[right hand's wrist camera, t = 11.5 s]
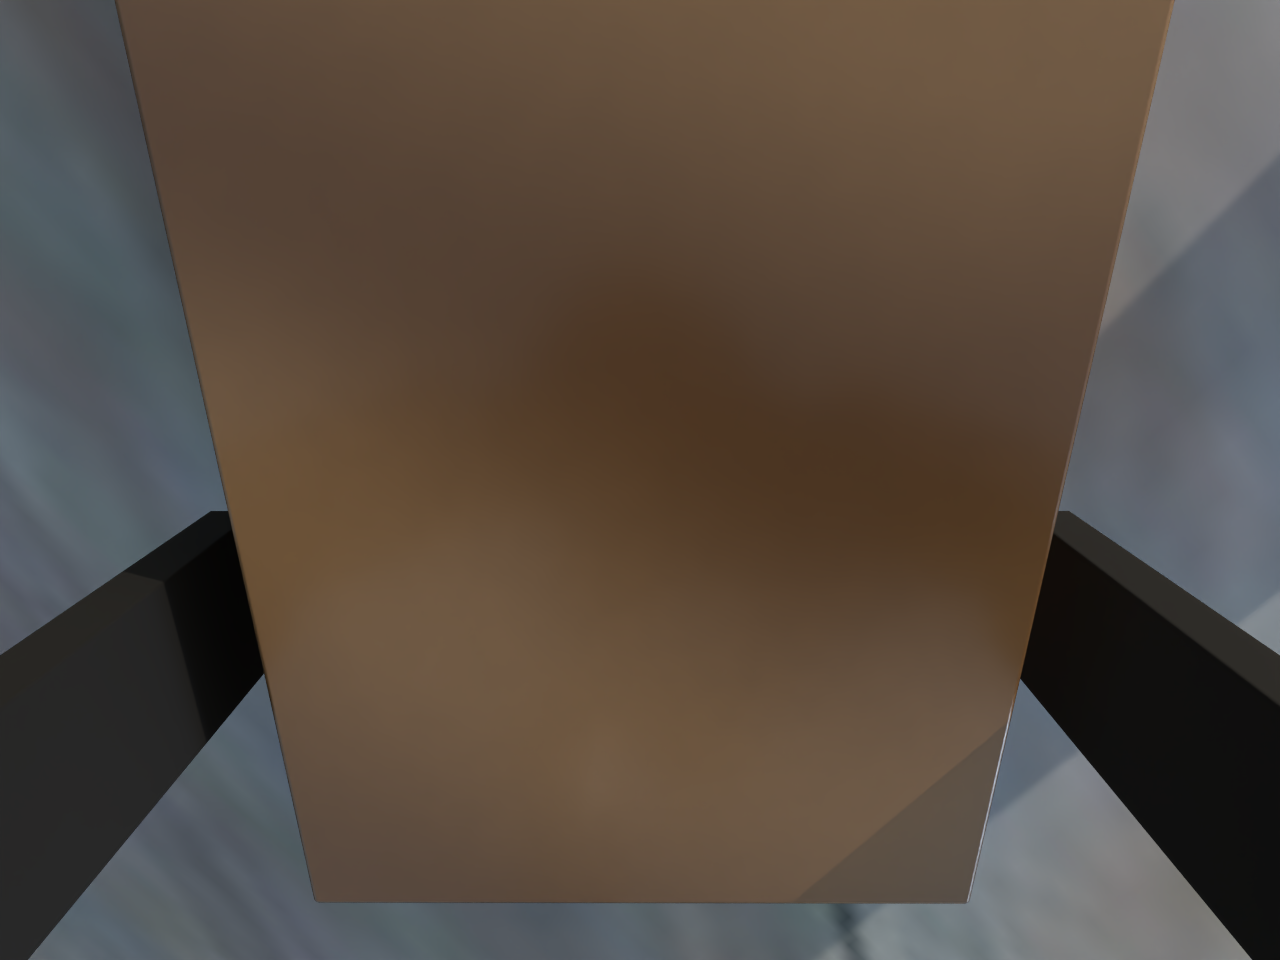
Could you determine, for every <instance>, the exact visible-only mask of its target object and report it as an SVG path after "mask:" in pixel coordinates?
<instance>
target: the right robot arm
mask: <svg viewBox="0 0 1280 960" xmlns="http://www.w3.org/2000/svg"><path fill="white" fill-rule="evenodd" d="M263 674H264V670H263V666H262V661H261V657H260V652H259V648H258V643H257V639H256V634H255V630H254V625H253V621H252V616H251V612H250V607H249V603H248V598H247V594H246V589H245V585H244V580H243V576H242V571H241V567H240V562H239V558H238V553H237V549H236V544H235V540H234V535H233V531H232V526H231V522H230V517H229V513H228V511H210V512H209V513H208V514H206V515H205V516H203V517H202V518H200V519H199V520H197V521H196V522H194V523H193V524H191V525H190V526H189V527H187V528H186V529H184V530H183V531H181V532H180V533H178V534H177V535H175V536H174V537H172V538H171V539H170V540H168V541H167V542H165V543H164V544H162V545H161V546H159V547H158V548H156V549H155V550H154V551H152V552H151V553H149V554H148V555H146V556H145V557H143V558H142V559H140V560H139V561H137V562H136V563H135V564H133V565H132V566H130V567H129V568H127V569H126V570H124V571H123V572H121V573H120V574H118V575H117V576H116V577H114V578H113V579H111V580H110V581H108V582H107V583H105V584H104V585H102V586H101V587H99V588H98V589H97V590H95V591H94V592H92V593H91V594H89V595H88V596H86V597H85V598H83V599H82V600H80V601H79V602H78V603H76V604H75V605H73V606H72V607H70V608H69V609H67V610H66V611H64V612H63V613H62V614H60V615H59V616H57V617H56V618H54V619H53V620H51V621H50V622H48V623H47V624H45V625H44V626H43V627H41V628H40V629H38V630H37V631H35V632H34V633H32V634H31V635H29V636H28V637H26V638H25V639H24V640H22V641H21V642H19V643H18V644H16V645H15V646H13V647H12V648H10V649H9V650H7V651H6V652H5V653H3V654H2V655H0V960H28V959H29V958H30V956H31V955H32V954H33V953H34V952H35V950H36V949H37V948H38V947H39V946H40V944H41V943H42V942H43V941H44V939H45V938H46V937H47V936H48V935H49V933H50V932H51V931H52V930H53V929H54V927H55V926H56V925H57V924H58V922H59V921H60V920H61V919H62V918H63V916H64V915H65V914H66V913H67V912H68V910H69V909H70V908H71V907H72V905H73V904H74V903H75V902H76V901H77V899H78V898H79V897H80V896H81V895H82V893H83V892H84V891H85V890H86V889H87V887H88V886H89V885H90V884H91V882H92V881H93V880H94V879H95V878H96V876H97V875H98V874H99V873H100V872H101V870H102V869H103V868H104V867H105V865H106V864H107V863H108V862H109V861H110V859H111V858H112V857H113V856H114V855H115V853H116V852H117V851H118V850H119V848H120V847H121V846H122V845H123V844H124V842H125V841H126V840H127V839H128V838H129V836H130V835H131V834H132V833H133V832H134V830H135V829H136V828H137V827H138V825H139V824H140V823H141V822H142V821H143V819H144V818H145V817H146V816H147V815H148V813H149V812H150V811H151V810H152V808H153V807H154V806H155V805H156V804H157V802H158V801H159V800H160V799H161V798H162V796H163V795H164V794H165V793H166V792H167V790H168V789H169V788H170V787H171V785H172V784H173V783H174V782H175V781H176V779H177V778H178V777H179V776H180V775H181V773H182V772H183V771H184V770H185V768H186V767H187V766H188V765H189V764H190V762H191V761H192V760H193V759H194V758H195V756H196V755H197V754H198V753H199V751H200V750H201V749H202V748H203V747H204V745H205V744H206V743H207V742H208V741H209V739H210V738H211V737H212V736H213V735H214V733H215V732H216V731H217V730H218V728H219V727H220V726H221V725H222V724H223V722H224V721H225V720H226V719H227V718H228V716H229V715H230V714H231V713H232V711H233V710H234V709H235V708H236V707H237V705H238V704H239V703H240V702H241V701H242V699H243V698H244V697H245V696H246V695H247V693H248V692H249V691H250V690H251V688H252V687H253V686H254V685H255V684H256V682H257V681H258V680H259V679H260V678H261V676H262V675H263ZM1020 679H1021V680H1022V681H1023V682H1024V684H1025V685H1026V686H1027V687H1028V688H1029V690H1030V691H1031V692H1032V693H1033V695H1034V696H1035V697H1036V698H1037V699H1038V701H1039V702H1040V703H1041V704H1042V705H1043V707H1044V708H1045V709H1046V710H1047V711H1048V713H1049V714H1050V715H1051V716H1052V718H1053V719H1054V720H1055V721H1056V722H1057V724H1058V725H1059V726H1060V727H1061V728H1062V730H1063V731H1064V732H1065V733H1066V735H1067V736H1068V737H1069V738H1070V739H1071V741H1072V742H1073V743H1074V744H1075V745H1076V747H1077V748H1078V749H1079V750H1080V751H1081V753H1082V754H1083V755H1084V756H1085V758H1086V759H1087V760H1088V761H1089V762H1090V764H1091V765H1092V766H1093V767H1094V768H1095V770H1096V771H1097V772H1098V773H1099V775H1100V776H1101V777H1102V778H1103V779H1104V781H1105V782H1106V783H1107V784H1108V785H1109V787H1110V788H1111V789H1112V790H1113V792H1114V793H1115V794H1116V795H1117V796H1118V798H1119V799H1120V800H1121V801H1122V802H1123V804H1124V805H1125V806H1126V807H1127V808H1128V810H1129V811H1130V812H1131V813H1132V815H1133V816H1134V817H1135V818H1136V819H1137V821H1138V822H1139V823H1140V824H1141V825H1142V827H1143V828H1144V829H1145V830H1146V832H1147V833H1148V834H1149V835H1150V836H1151V838H1152V839H1153V840H1154V841H1155V842H1156V844H1157V845H1158V846H1159V847H1160V848H1161V850H1162V851H1163V852H1164V853H1165V855H1166V856H1167V857H1168V858H1169V859H1170V861H1171V862H1172V863H1173V864H1174V865H1175V867H1176V868H1177V869H1178V870H1179V872H1180V873H1181V874H1182V875H1183V876H1184V878H1185V879H1186V880H1187V881H1188V882H1189V884H1190V885H1191V886H1192V887H1193V889H1194V890H1195V891H1196V892H1197V893H1198V895H1199V896H1200V897H1201V898H1202V899H1203V901H1204V902H1205V903H1206V904H1207V905H1208V907H1209V908H1210V909H1211V910H1212V912H1213V913H1214V914H1215V915H1216V916H1217V918H1218V919H1219V920H1220V921H1221V922H1222V924H1223V925H1224V926H1225V927H1226V929H1227V930H1228V931H1229V932H1230V933H1231V935H1232V936H1233V937H1234V938H1235V939H1236V941H1237V942H1238V943H1239V944H1240V946H1241V947H1242V948H1243V949H1244V950H1245V952H1246V953H1247V954H1248V955H1249V956H1250V958H1251V959H1252V960H1280V655H1278V654H1277V653H1275V652H1274V651H1273V650H1271V649H1270V648H1268V647H1267V646H1265V645H1264V644H1262V643H1261V642H1259V641H1258V640H1256V639H1255V638H1254V637H1252V636H1251V635H1249V634H1248V633H1246V632H1245V631H1243V630H1242V629H1240V628H1239V627H1237V626H1236V625H1235V624H1233V623H1232V622H1230V621H1229V620H1227V619H1226V618H1224V617H1223V616H1221V615H1220V614H1218V613H1217V612H1216V611H1214V610H1213V609H1211V608H1210V607H1208V606H1207V605H1205V604H1204V603H1202V602H1201V601H1200V600H1198V599H1197V598H1195V597H1194V596H1192V595H1191V594H1189V593H1188V592H1186V591H1185V590H1183V589H1182V588H1181V587H1179V586H1178V585H1176V584H1175V583H1173V582H1172V581H1170V580H1169V579H1167V578H1166V577H1164V576H1163V575H1162V574H1160V573H1159V572H1157V571H1156V570H1154V569H1153V568H1151V567H1150V566H1148V565H1147V564H1145V563H1144V562H1143V561H1141V560H1140V559H1138V558H1137V557H1135V556H1134V555H1132V554H1131V553H1129V552H1128V551H1126V550H1125V549H1124V548H1122V547H1121V546H1119V545H1118V544H1116V543H1115V542H1113V541H1112V540H1110V539H1109V538H1108V537H1106V536H1105V535H1103V534H1102V533H1100V532H1099V531H1097V530H1096V529H1094V528H1093V527H1091V526H1090V525H1089V524H1087V523H1086V522H1084V521H1083V520H1081V519H1080V518H1078V517H1077V516H1075V515H1074V514H1072V513H1071V512H1070V511H1058V514H1057V518H1056V523H1055V527H1054V531H1053V536H1052V540H1051V545H1050V549H1049V553H1048V558H1047V562H1046V567H1045V571H1044V575H1043V580H1042V584H1041V589H1040V593H1039V597H1038V602H1037V606H1036V610H1035V615H1034V619H1033V624H1032V628H1031V632H1030V637H1029V641H1028V646H1027V650H1026V654H1025V659H1024V663H1023V668H1022V672H1021V676H1020Z"/></svg>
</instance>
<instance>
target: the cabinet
mask: <svg viewBox="0 0 1280 960" xmlns="http://www.w3.org/2000/svg"><path fill="white" fill-rule="evenodd" d="M115 4H116V9H117V13H118V18H119V22H120V27H121V31H122V36H123V40H124V45H125V49H126V54H127V58H128V63H129V67H130V72H131V76H132V81H133V85H134V90H135V94H136V99H137V103H138V108H139V112H140V117H141V121H142V126H143V130H144V135H145V139H146V144H147V148H148V153H149V157H150V162H151V166H152V171H153V175H154V180H155V184H156V189H157V193H158V198H159V202H160V207H161V211H162V216H163V220H164V225H165V229H166V234H167V238H168V243H169V247H170V252H171V256H172V261H173V265H174V270H175V274H176V279H177V283H178V288H179V292H180V297H181V301H182V306H183V310H184V315H185V319H186V324H187V328H188V333H189V337H190V342H191V346H192V351H193V355H194V360H195V364H196V369H197V373H198V378H199V382H200V387H201V391H202V396H203V400H204V405H205V409H206V414H207V418H208V423H209V427H210V432H211V436H212V441H213V445H214V450H215V454H216V459H217V463H218V468H219V472H220V477H221V481H222V486H223V490H224V495H225V499H226V504H227V508H228V513H229V517H230V522H231V526H232V531H233V535H234V540H235V544H236V549H237V553H238V558H239V562H240V567H241V571H242V576H243V580H244V585H245V589H246V594H247V598H248V603H249V607H250V612H251V616H252V621H253V625H254V630H255V634H256V639H257V643H258V648H259V652H260V657H261V661H262V666H263V670H264V675H265V679H266V684H267V688H268V693H269V697H270V702H271V706H272V711H273V715H274V720H275V724H276V729H277V733H278V738H279V742H280V747H281V751H282V756H283V760H284V765H285V769H286V774H287V778H288V783H289V787H290V792H291V796H292V801H293V805H294V810H295V814H296V819H297V823H298V828H299V832H300V837H301V841H302V846H303V850H304V855H305V859H306V864H307V868H308V872H309V877H310V881H311V886H312V890H313V895H314V899H315V901H316V902H359V903H924V904H965V903H968V902H969V900H970V896H971V891H972V887H973V883H974V878H975V874H976V869H977V865H978V861H979V856H980V852H981V847H982V843H983V839H984V834H985V830H986V826H987V821H988V817H989V812H990V808H991V804H992V799H993V795H994V790H995V786H996V782H997V777H998V773H999V768H1000V764H1001V760H1002V755H1003V751H1004V747H1005V742H1006V738H1007V733H1008V729H1009V725H1010V720H1011V716H1012V711H1013V707H1014V703H1015V698H1016V694H1017V689H1018V685H1019V681H1020V676H1021V672H1022V668H1023V663H1024V659H1025V654H1026V650H1027V646H1028V641H1029V637H1030V632H1031V628H1032V624H1033V619H1034V615H1035V610H1036V606H1037V602H1038V597H1039V593H1040V589H1041V584H1042V580H1043V575H1044V571H1045V567H1046V562H1047V558H1048V553H1049V549H1050V545H1051V540H1052V536H1053V531H1054V527H1055V523H1056V518H1057V514H1058V510H1059V505H1060V501H1061V496H1062V492H1063V488H1064V483H1065V479H1066V474H1067V470H1068V466H1069V461H1070V457H1071V452H1072V448H1073V444H1074V439H1075V435H1076V431H1077V426H1078V422H1079V417H1080V413H1081V409H1082V404H1083V400H1084V395H1085V391H1086V387H1087V382H1088V378H1089V373H1090V369H1091V365H1092V360H1093V356H1094V352H1095V347H1096V343H1097V338H1098V334H1099V330H1100V325H1101V321H1102V316H1103V312H1104V308H1105V303H1106V299H1107V294H1108V290H1109V286H1110V281H1111V277H1112V273H1113V268H1114V264H1115V259H1116V255H1117V251H1118V246H1119V242H1120V237H1121V233H1122V229H1123V224H1124V220H1125V215H1126V211H1127V207H1128V202H1129V198H1130V194H1131V189H1132V185H1133V180H1134V176H1135V172H1136V167H1137V163H1138V158H1139V154H1140V150H1141V145H1142V141H1143V136H1144V132H1145V128H1146V123H1147V119H1148V115H1149V110H1150V106H1151V101H1152V97H1153V93H1154V88H1155V84H1156V79H1157V75H1158V71H1159V66H1160V62H1161V57H1162V53H1163V49H1164V44H1165V40H1166V36H1167V31H1168V27H1169V22H1170V18H1171V14H1172V9H1173V5H1174V0H115Z"/></svg>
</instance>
